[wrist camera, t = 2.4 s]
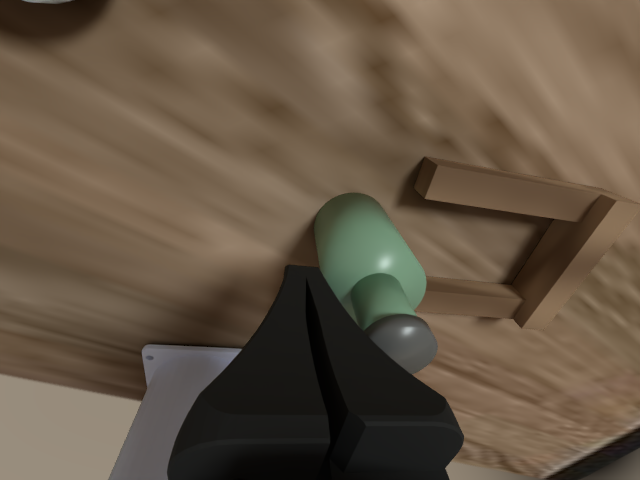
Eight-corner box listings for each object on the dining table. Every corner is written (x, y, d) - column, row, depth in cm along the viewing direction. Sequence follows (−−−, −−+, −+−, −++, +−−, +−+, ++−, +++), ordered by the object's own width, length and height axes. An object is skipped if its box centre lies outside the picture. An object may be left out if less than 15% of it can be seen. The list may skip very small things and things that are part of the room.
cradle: (519, 304, 23) (543, 330, 21) (374, 292, 21) (385, 318, 18) (601, 188, 18) (643, 205, 16) (425, 156, 16) (446, 171, 14)
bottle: (374, 260, 19) (434, 394, 11) (308, 253, 18) (323, 392, 11) (395, 198, 17) (487, 312, 9) (321, 187, 16) (353, 301, 8)
